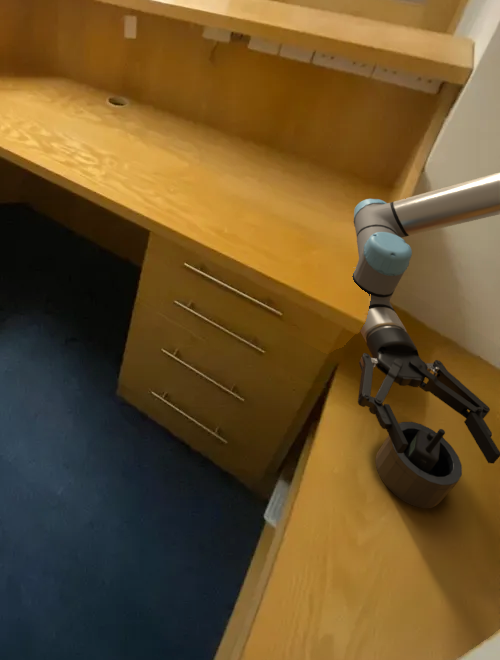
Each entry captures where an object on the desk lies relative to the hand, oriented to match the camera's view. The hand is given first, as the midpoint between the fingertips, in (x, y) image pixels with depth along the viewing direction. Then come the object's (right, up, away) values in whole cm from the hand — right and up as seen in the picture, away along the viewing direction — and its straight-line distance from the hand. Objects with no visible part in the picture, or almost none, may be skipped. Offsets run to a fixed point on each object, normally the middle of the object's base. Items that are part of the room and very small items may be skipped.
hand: (448, 454), depth 79 cm
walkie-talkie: (0, -9, +9) cm, 13 cm away
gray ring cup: (0, -10, +9) cm, 13 cm away
